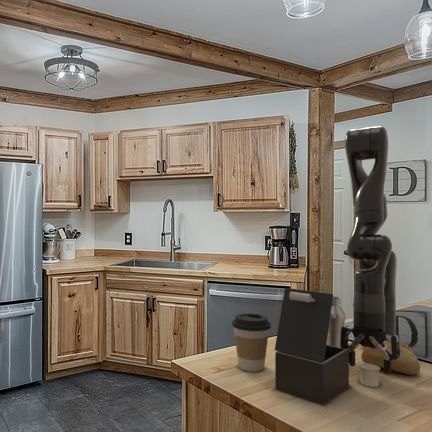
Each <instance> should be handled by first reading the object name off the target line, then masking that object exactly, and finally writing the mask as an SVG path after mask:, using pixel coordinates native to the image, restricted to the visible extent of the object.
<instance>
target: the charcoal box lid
mask: <svg viewBox="0 0 432 432" xmlns="http://www.w3.org/2000/svg"><path fill="white" fill-rule="evenodd" d="M333 296H334V293H333V294H332V293H327V292H320V291H312V290H304V289H297V288H290V287H284V291H283V297H282V303H281V309H280V315H279V320H278V326H277V327H278V328H277V332H276V339H275V346H274V351H275V352H277V351H280V352H284V353H288V354H291V355H295V356H299V357H303V358H307V359H311V360H315V361H319V362H323V363H324V358H325V351H326V344H327V337H328V329H329V322H330V315H331V308H332V301H333Z"/></svg>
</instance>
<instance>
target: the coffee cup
mask: <svg viewBox="0 0 432 432" xmlns="http://www.w3.org/2000/svg"><path fill="white" fill-rule="evenodd" d="M231 327H233V333H234V340H235V349H236V356H237V364H238V366H239V368H240V369H241V370H243V371H246V372H251V373H252V372H253V373H257V372H261V371H263V370H264V369H265V368H264V367H265V363H266V355H267V349H268V342H269V341H268V340H269V331H270V329H272V326H271V322H270V321H269V320H268V317H267V316H265V315H263V314H260V313H259V314H258V313H250V312H249V313H237V314H236V315H235V317H234V319H233V320H232V322H231Z"/></svg>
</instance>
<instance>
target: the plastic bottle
mask: <svg viewBox="0 0 432 432" xmlns="http://www.w3.org/2000/svg"><path fill="white" fill-rule="evenodd" d="M340 305H341V297H340V296H334V295H333V301H332V308H331V315H330V322H329V329H328V337H327V344H326V345H331V346H335V347H340V340H341V328H342V327H343V326H345V322H346V313H345V312H344V310H343V308H342V307H341V306H340ZM340 348H341V347H340Z"/></svg>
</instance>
